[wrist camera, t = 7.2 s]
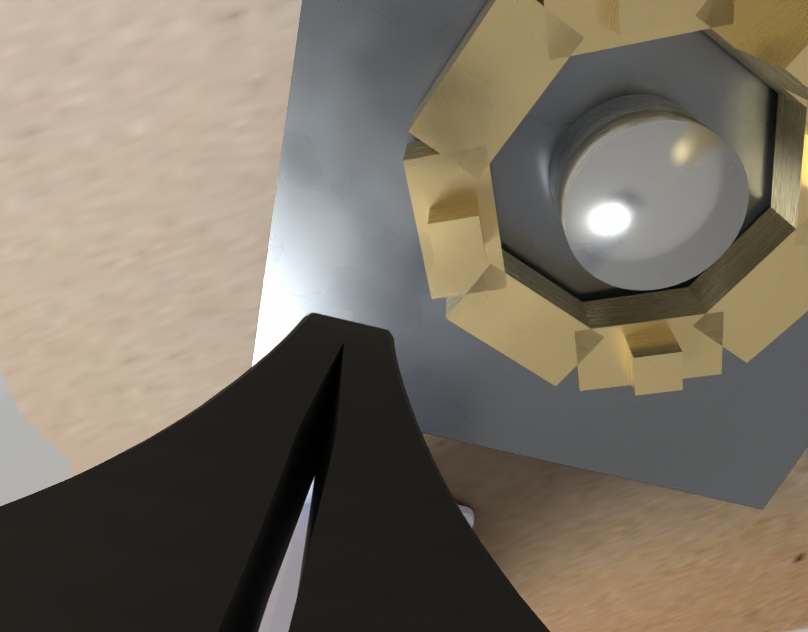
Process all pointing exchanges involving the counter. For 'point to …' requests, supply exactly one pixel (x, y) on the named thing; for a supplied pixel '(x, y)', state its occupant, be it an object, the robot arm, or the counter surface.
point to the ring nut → (539, 297)
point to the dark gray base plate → (540, 238)
